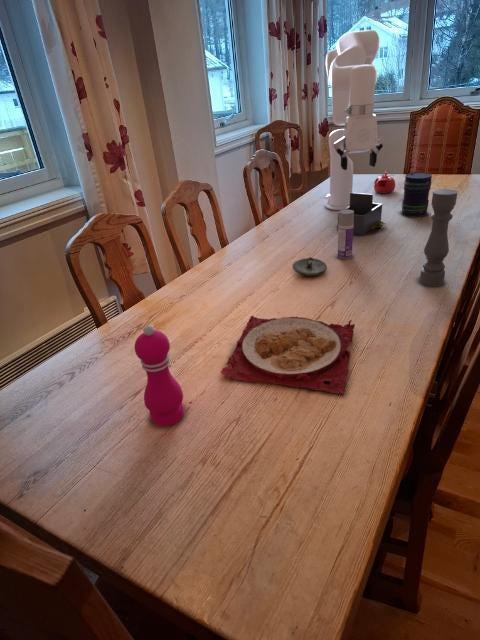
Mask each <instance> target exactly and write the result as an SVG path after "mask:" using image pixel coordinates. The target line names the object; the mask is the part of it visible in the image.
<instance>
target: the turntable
mask: <svg viewBox="0 0 480 640" xmlns="http://www.w3.org/2000/svg"><path fill="white" fill-rule="evenodd" d="M379 225H381V224H379ZM381 230H382V227H375V228H374V229H370V230H369V231H368V232H366V233H365V234H364V236H366V235H372V234H376V233H378V232H380V231H381ZM353 236H360V235H359V234H353Z"/></svg>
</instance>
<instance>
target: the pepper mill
mask: <svg viewBox="0 0 480 640" xmlns="http://www.w3.org/2000/svg"><path fill="white" fill-rule="evenodd" d="M170 348H171V343H170V340H169V338H168V337H167V335H166V334H165V333H164V332H162V331H160V330H155V329H154V327H153V326H152V325H149V324H148V325H145V326H144V327H143V330H142V333H141V334H140V335H138V336H137V337H136V339H135V341H134V352H135V355H136V356H137V358H138V359H139V360H140V364H141V368H142V369H143V370H144V371H145V373H146V377H147V379H146V380H147V381H146V386H145V388H144V392H143V403H144V406H145V408H146V409H147V410H148V411H149V415H150V420H151V421H152V423H153V424H154V425H156V426H159V427H169V426H172V425H173V426H174V425H175V424H176V423H179V421H181V419H182V418H183V416H184V414H185V411H184V410H185V409H184V406H183V400H184V392H183V390H182V387H181V385H180V383H179V382H178V381H177V379H175V377H174V376H173V375H172V373H171V371H170V368H169V365H170V363H171V357H170V354H169V352H170Z"/></svg>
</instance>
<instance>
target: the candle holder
mask: <svg viewBox="0 0 480 640" xmlns="http://www.w3.org/2000/svg"><path fill="white" fill-rule="evenodd" d="M457 199H458V190H456V189H451V188H440V189H439V188H438V189H435V190H433V191H432V197H431V209H432V210H433V213H431V214H430V219H431V221H432V223H431V229H430V230H431V231H430V234H429V236H428V239H427V240H426V242H425V243H426V244H425V246H424V248H423V253H424V256H425V257H426V258H425V259H426V261H425V262H424V263H423V264H422V268H421V270H420V277H419V282H420V284H422V285H423V286H426V287H432V288H433V287H441V286H443V285H444V282H445V277H446V270H445V269H446V265H445V263H444V261H445V258H446V257H447V256H448V254H449V251H450V246H449V236H448V235H449V234H448V230H449V224H450V221H451V220H452V219H453V215H452V211H453V210H454V208H455V206H456V204H457Z"/></svg>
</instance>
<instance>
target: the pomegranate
mask: <svg viewBox="0 0 480 640" xmlns="http://www.w3.org/2000/svg"><path fill="white" fill-rule="evenodd" d="M392 176H395V175H393V174H390V175H388V171H385V172H384V174H383V173H382V174H380V175H378V176H377V177H376V179H375V180H374V185H373V189H374V192H375V193H379V194H390V193H392V192H394V191H395V189H396V180H395V179H394V178H393V177H392Z"/></svg>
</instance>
